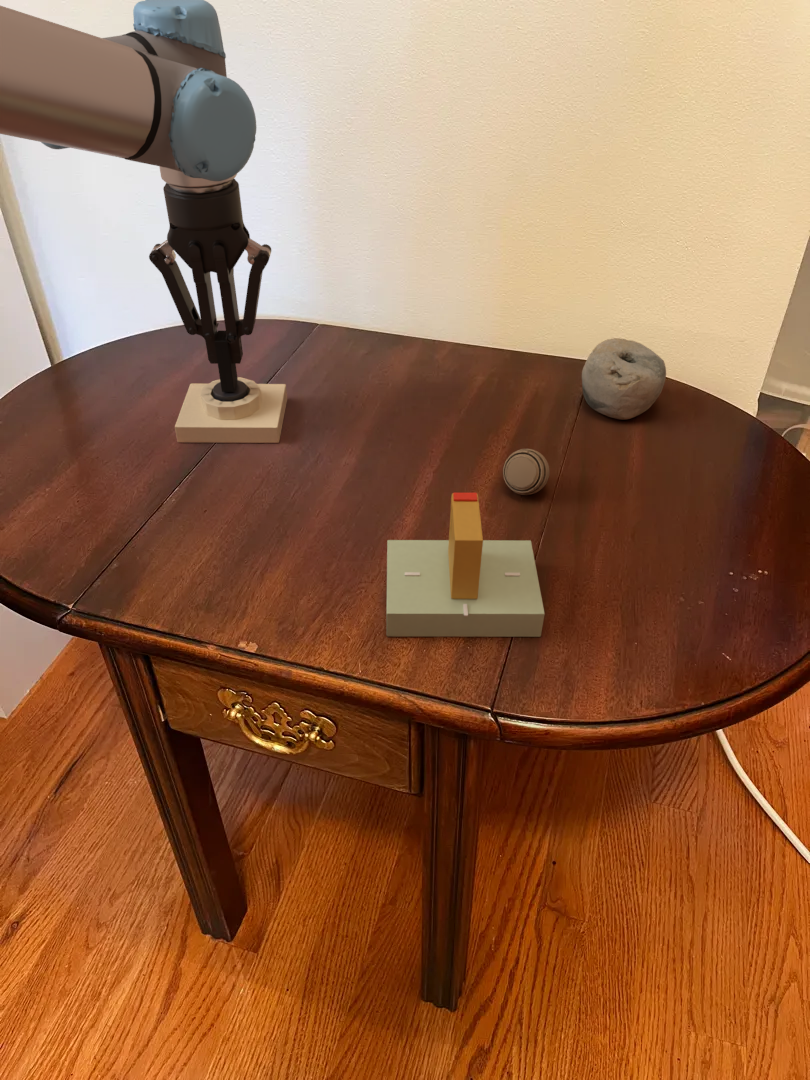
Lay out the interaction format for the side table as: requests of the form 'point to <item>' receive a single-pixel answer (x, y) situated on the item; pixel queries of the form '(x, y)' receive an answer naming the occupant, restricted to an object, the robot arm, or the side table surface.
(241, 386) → the bell button
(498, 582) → the plate
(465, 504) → the lock knob
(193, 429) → the doorbell
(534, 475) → the door knob
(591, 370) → the stone
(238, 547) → the side table surface
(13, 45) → the robot arm
